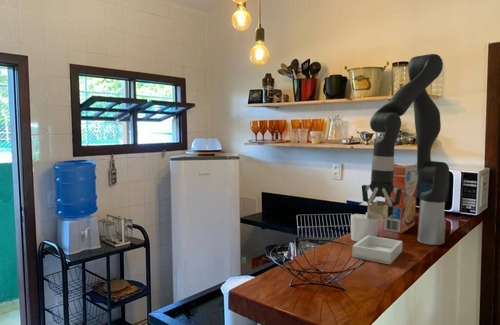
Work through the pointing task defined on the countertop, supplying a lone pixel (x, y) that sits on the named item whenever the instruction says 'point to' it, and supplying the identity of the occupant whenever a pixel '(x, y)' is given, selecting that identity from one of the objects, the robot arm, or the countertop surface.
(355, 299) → the countertop surface
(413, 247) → the countertop surface
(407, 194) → the orange cereal box
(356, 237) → the white cup
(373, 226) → the smoothie
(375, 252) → the white crate
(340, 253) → the countertop surface
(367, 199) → the robot arm
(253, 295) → the countertop surface
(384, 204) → the birch crate
